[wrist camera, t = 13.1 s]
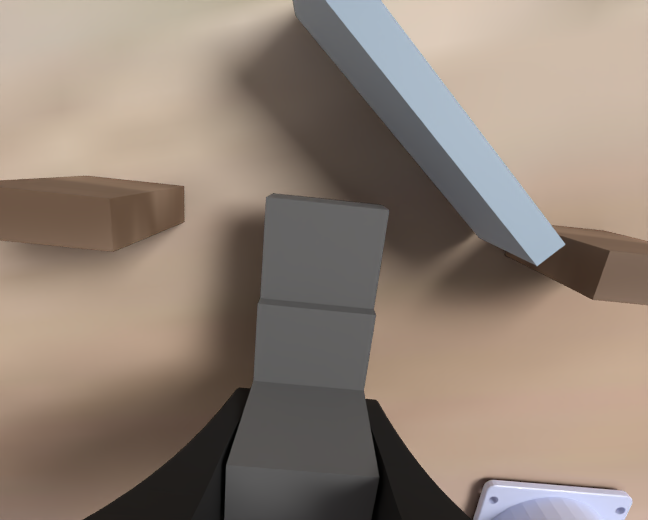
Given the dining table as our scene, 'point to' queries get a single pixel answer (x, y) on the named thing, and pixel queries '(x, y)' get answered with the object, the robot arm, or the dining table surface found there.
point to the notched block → (310, 366)
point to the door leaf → (429, 123)
